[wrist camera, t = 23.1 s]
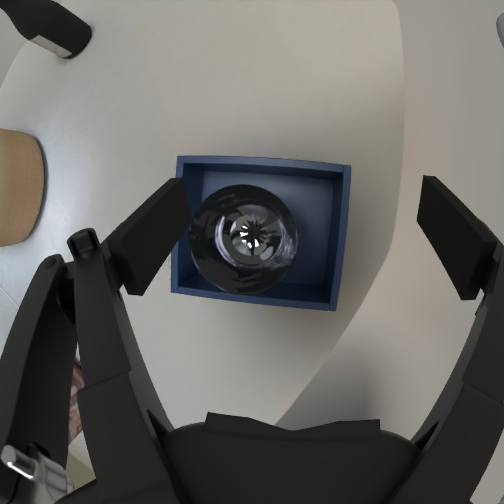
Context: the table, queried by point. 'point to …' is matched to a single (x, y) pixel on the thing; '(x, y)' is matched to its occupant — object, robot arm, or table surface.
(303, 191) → the bin
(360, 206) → the table surface
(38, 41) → the wine bottle
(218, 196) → the wine glass
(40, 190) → the planter
